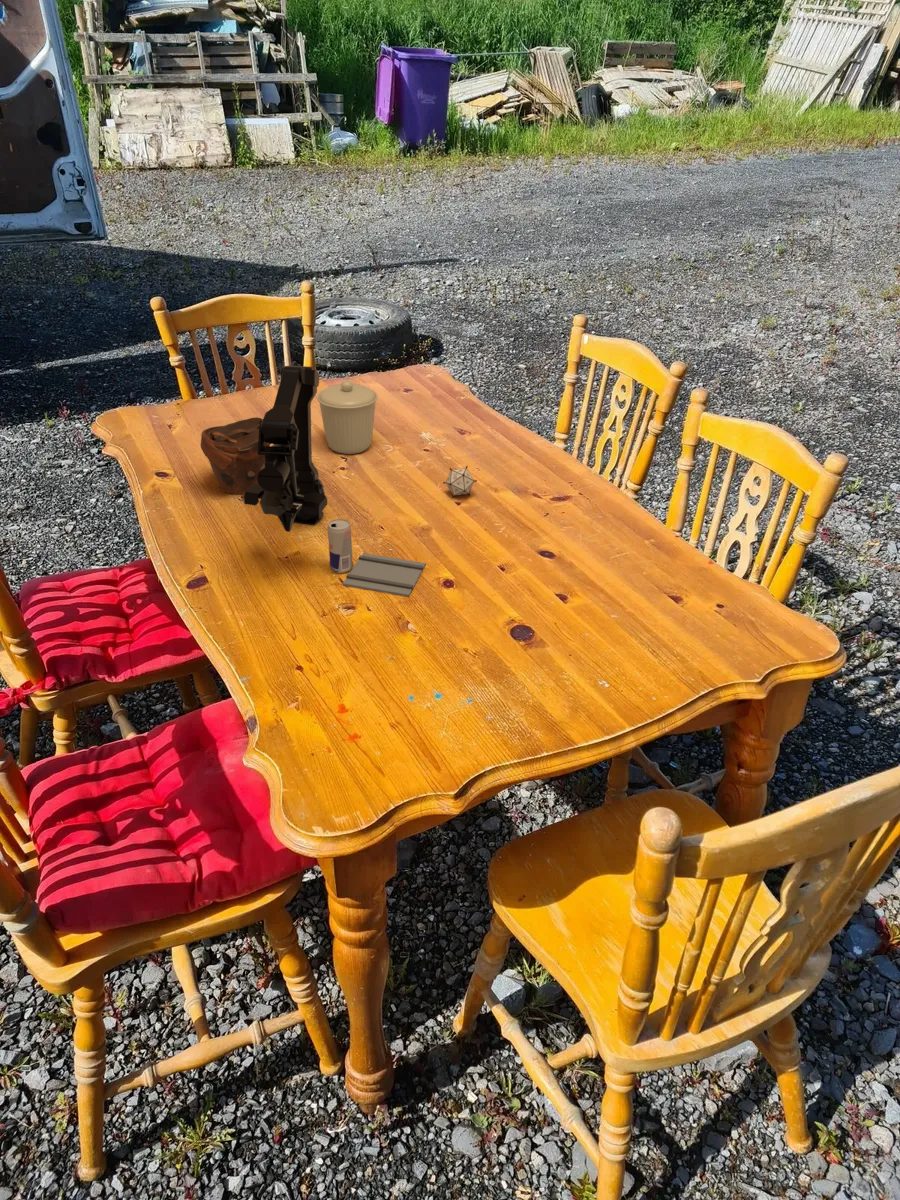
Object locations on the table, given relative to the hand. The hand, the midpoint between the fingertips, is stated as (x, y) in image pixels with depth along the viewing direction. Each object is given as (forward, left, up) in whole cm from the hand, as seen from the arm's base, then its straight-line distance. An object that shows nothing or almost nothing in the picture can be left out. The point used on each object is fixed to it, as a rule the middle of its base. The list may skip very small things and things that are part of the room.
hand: (288, 530), depth 190 cm
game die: (+31, +45, -8) cm, 55 cm away
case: (-29, +32, -8) cm, 44 cm away
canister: (-9, +65, -8) cm, 66 cm away
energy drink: (+13, 0, -8) cm, 15 cm away
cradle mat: (+24, 0, -8) cm, 25 cm away
